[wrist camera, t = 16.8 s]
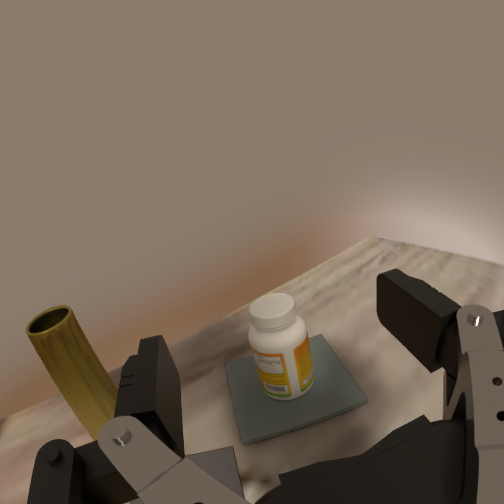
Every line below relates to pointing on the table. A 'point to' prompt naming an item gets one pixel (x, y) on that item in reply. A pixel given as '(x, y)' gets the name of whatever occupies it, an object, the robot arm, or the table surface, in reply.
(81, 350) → the vase
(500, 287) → the table surface
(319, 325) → the table surface
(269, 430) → the slate pad
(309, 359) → the supplement bottle
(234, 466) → the dark gray tile
